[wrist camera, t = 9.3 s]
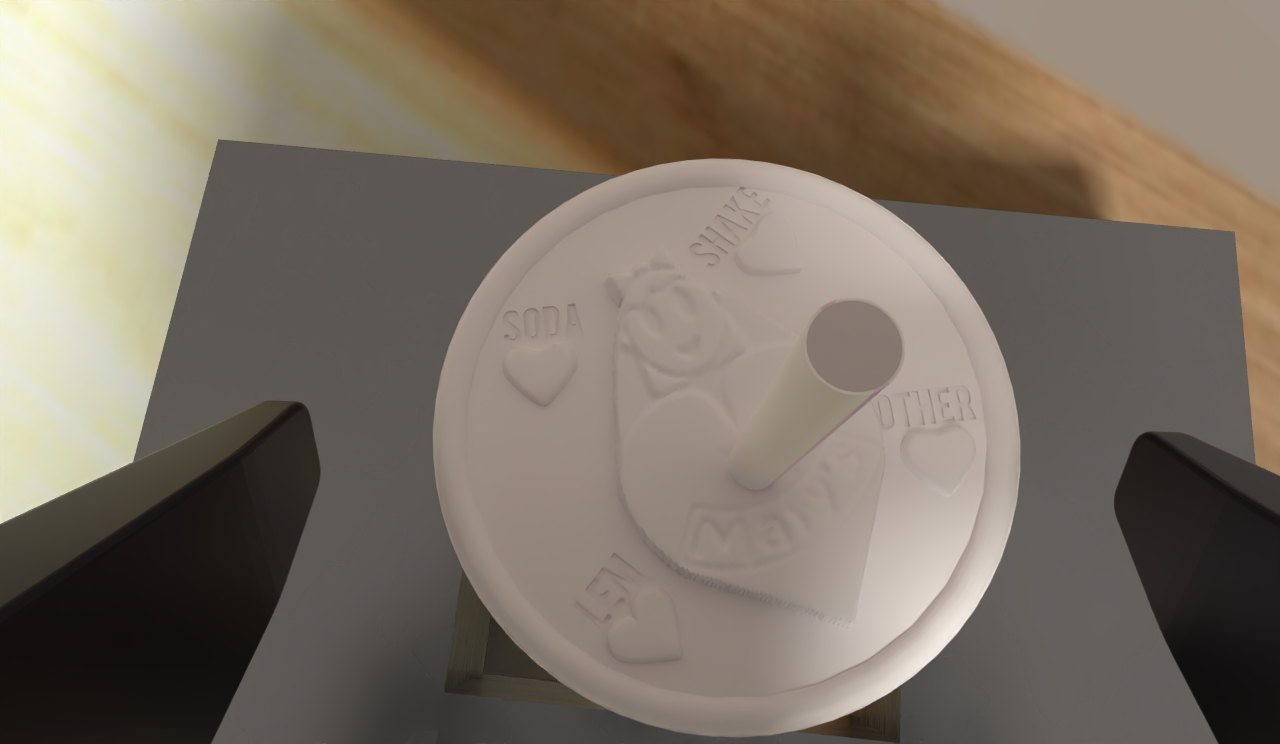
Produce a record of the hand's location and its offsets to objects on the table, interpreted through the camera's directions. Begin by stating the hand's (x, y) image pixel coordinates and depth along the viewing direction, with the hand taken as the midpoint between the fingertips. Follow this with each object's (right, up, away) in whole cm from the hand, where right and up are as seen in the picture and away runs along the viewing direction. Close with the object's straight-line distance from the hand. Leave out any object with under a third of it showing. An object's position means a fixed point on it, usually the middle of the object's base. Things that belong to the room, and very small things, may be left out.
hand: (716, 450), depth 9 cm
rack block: (0, -2, +9) cm, 9 cm away
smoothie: (0, -2, +9) cm, 9 cm away
